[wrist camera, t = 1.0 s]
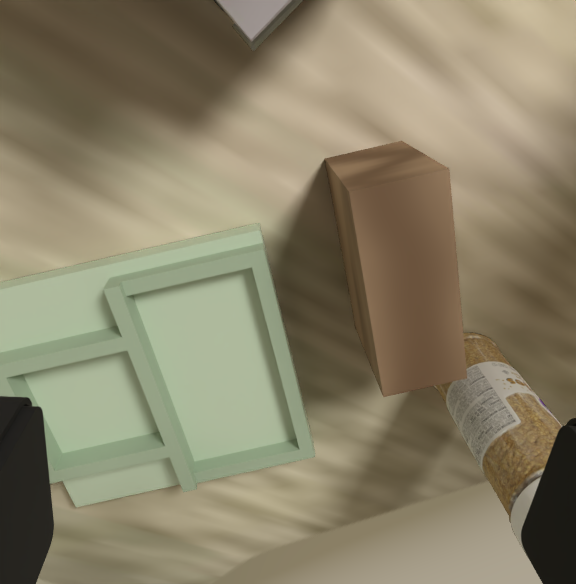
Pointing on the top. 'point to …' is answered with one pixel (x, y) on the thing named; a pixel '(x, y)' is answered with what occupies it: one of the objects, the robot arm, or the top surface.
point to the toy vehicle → (257, 17)
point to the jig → (156, 366)
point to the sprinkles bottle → (502, 425)
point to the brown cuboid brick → (400, 264)
